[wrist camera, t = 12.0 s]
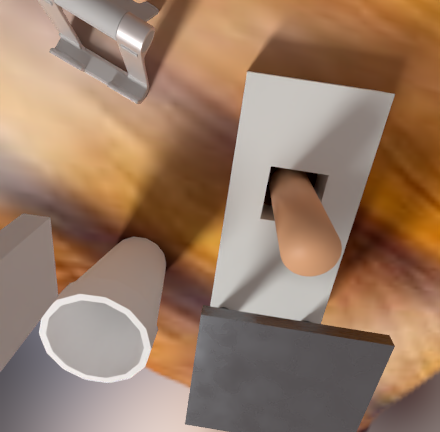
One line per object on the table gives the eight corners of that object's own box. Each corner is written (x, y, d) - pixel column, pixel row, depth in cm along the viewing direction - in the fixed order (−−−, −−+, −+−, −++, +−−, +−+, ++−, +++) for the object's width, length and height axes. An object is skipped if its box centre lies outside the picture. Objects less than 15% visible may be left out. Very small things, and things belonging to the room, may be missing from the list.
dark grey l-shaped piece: (216, 234, 34) (201, 314, 23) (348, 255, 34) (394, 345, 23) (203, 322, 39) (185, 424, 28) (319, 341, 39) (347, 451, 28)
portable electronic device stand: (60, 54, 33) (3, 51, 25) (90, -35, 30) (36, -69, 22) (143, 103, 34) (112, 114, 26) (180, 22, 31) (157, 9, 23)
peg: (273, 162, 35) (287, 218, 22) (312, 168, 35) (349, 228, 22) (265, 199, 37) (274, 271, 24) (303, 205, 37) (332, 280, 24)
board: (247, 70, 32) (247, 71, 28) (378, 90, 32) (394, 94, 28) (211, 300, 43) (207, 323, 39) (309, 316, 42) (315, 340, 39)
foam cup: (182, 230, 39) (152, 303, 27) (177, 298, 43) (149, 388, 31) (98, 219, 39) (33, 287, 27) (100, 288, 43) (44, 373, 31)
